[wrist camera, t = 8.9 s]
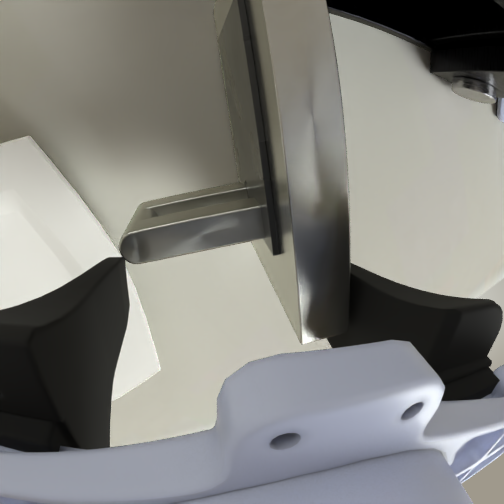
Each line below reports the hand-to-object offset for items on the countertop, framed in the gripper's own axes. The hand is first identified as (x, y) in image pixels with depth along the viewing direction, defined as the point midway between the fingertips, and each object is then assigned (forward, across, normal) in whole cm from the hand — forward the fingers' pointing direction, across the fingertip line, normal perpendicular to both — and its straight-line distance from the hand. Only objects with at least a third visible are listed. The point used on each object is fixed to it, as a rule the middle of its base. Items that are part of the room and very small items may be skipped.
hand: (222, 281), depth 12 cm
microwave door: (+6, +1, -5) cm, 8 cm away
